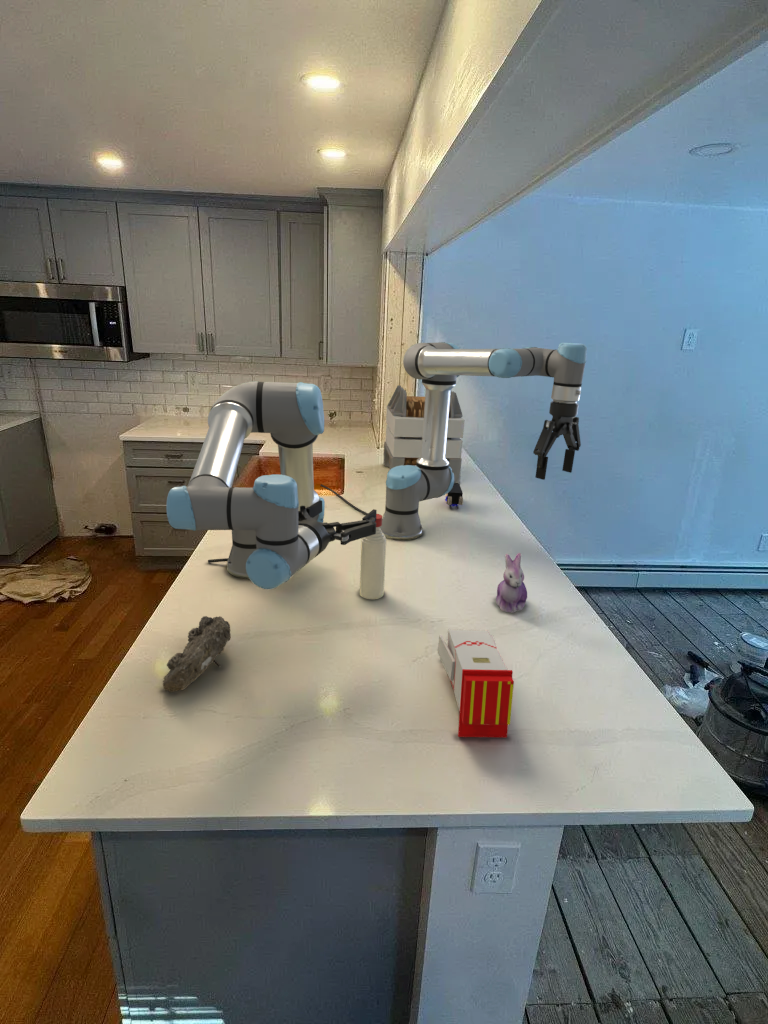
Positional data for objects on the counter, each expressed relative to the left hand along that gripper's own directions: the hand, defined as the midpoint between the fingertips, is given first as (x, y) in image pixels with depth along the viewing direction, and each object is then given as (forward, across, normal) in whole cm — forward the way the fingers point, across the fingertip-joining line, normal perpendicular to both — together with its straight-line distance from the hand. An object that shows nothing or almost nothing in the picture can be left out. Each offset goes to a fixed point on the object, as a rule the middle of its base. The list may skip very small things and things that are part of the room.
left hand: (347, 510), depth 131 cm
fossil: (-28, -21, -30) cm, 46 cm away
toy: (-13, +34, -31) cm, 48 cm away
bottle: (+18, 0, -30) cm, 36 cm away
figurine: (+28, +37, -30) cm, 55 cm away
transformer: (+142, -25, -30) cm, 148 cm away
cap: (+18, 0, -8) cm, 20 cm away
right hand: (+53, +42, +1) cm, 68 cm away
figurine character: (+103, +2, -30) cm, 108 cm away
